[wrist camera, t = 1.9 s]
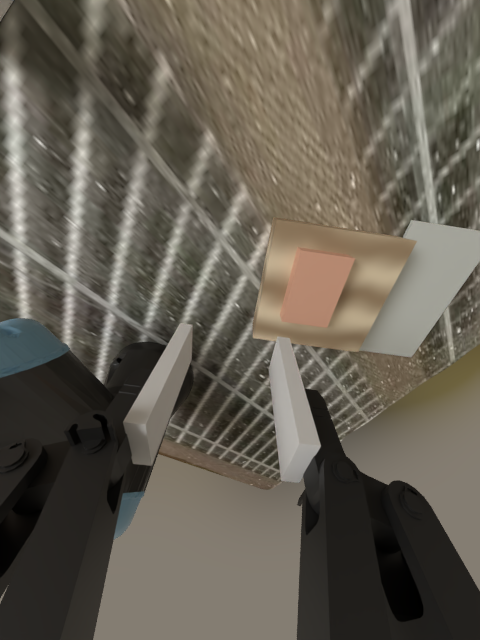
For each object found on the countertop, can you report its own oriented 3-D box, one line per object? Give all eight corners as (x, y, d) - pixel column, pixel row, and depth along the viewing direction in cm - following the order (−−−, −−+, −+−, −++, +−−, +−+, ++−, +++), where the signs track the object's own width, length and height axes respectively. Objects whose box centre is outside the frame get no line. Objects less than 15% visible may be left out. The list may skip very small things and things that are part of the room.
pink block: (322, 320, 29) (327, 327, 27) (279, 314, 29) (281, 321, 27) (347, 254, 24) (355, 258, 23) (297, 246, 24) (301, 250, 22)
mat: (409, 355, 36) (411, 357, 36) (348, 347, 36) (349, 348, 35) (495, 233, 26) (498, 233, 26) (411, 220, 26) (413, 220, 25)
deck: (347, 337, 35) (357, 352, 31) (252, 324, 34) (253, 337, 31) (395, 236, 27) (417, 241, 23) (273, 217, 26) (276, 219, 23)
